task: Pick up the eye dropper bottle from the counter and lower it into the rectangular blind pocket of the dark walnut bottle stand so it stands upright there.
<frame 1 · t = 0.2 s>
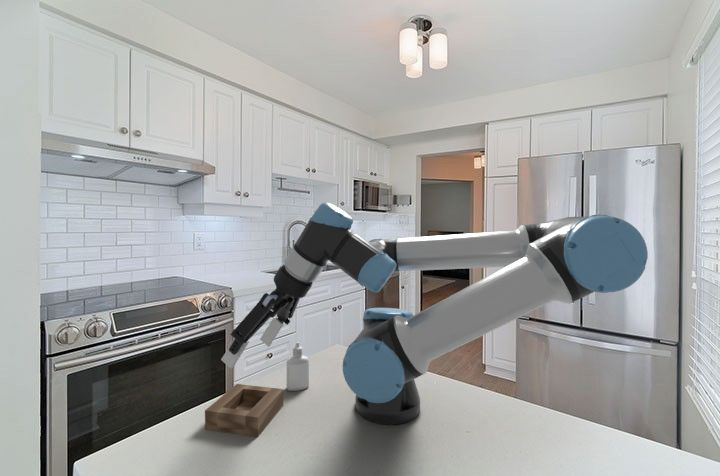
hand: (247, 352, 74), 15 cm above the countertop, tool tilted 35°, fingers open, 13 cm apart
walnut bottle stand: (246, 416, 76), on the countertop
eye dropper bottle: (297, 388, 90), on the countertop
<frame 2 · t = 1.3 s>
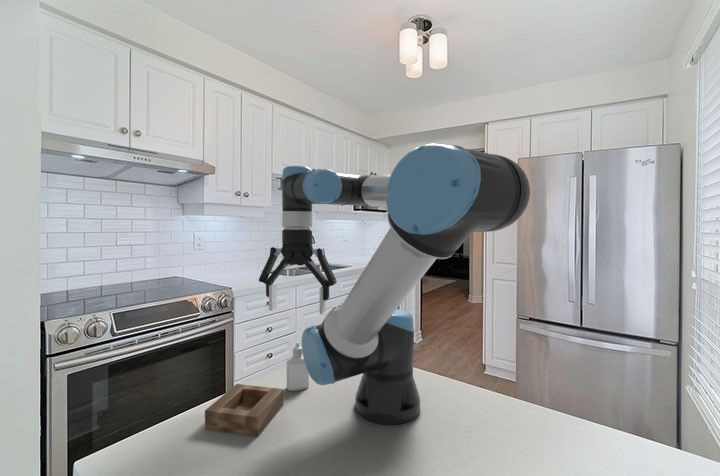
hand: (297, 311, 89), 20 cm above the countertop, tool pointing down, fingers open, 13 cm apart
nothing on the countertop moved.
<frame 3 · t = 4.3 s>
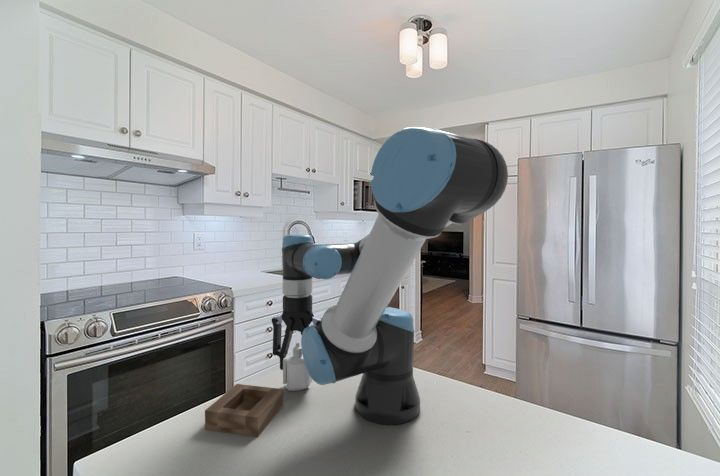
hand: (297, 382, 90), 1 cm above the countertop, tool pointing down, fingers closed on eye dropper bottle, 5 cm apart
eye dropper bottle: (297, 388, 90), on the countertop, touching gripper
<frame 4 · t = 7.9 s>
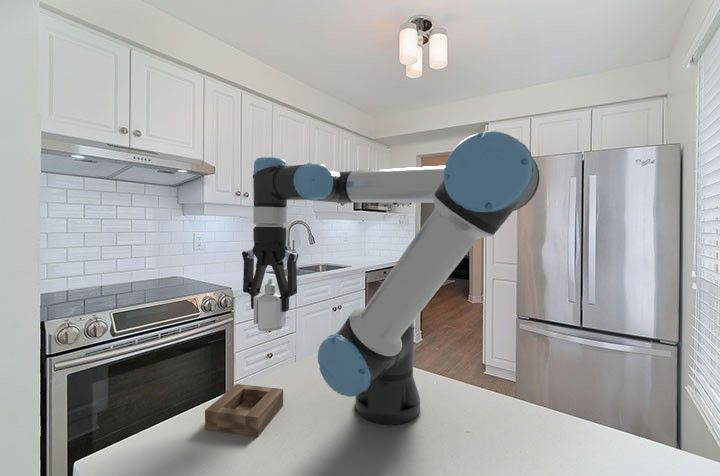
hand: (269, 323, 82), 19 cm above the countertop, tool pointing down, fingers closed on eye dropper bottle, 5 cm apart
eye dropper bottle: (270, 329, 82), point 18 cm above the countertop, touching gripper
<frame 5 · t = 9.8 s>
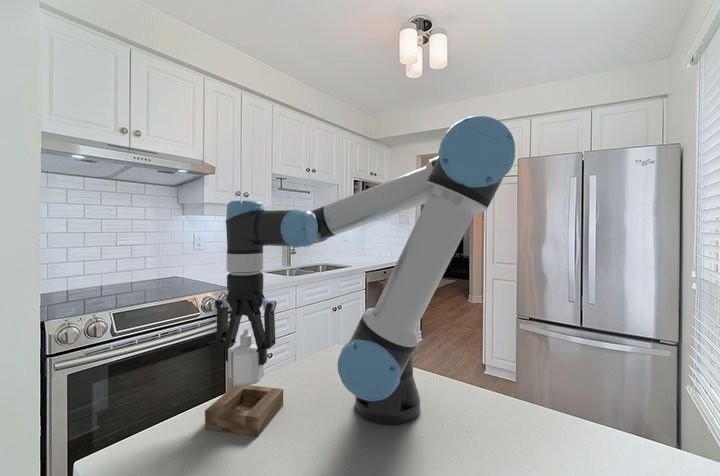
hand: (246, 376, 76), 9 cm above the countertop, tool pointing down, fingers closed on eye dropper bottle, 5 cm apart
eye dropper bottle: (246, 383, 76), point 7 cm above the countertop, touching gripper
when the fingers open (5 cm above the countertop, at t = 11.6 s): eye dropper bottle drops 3 cm, resting on walnut bottle stand.
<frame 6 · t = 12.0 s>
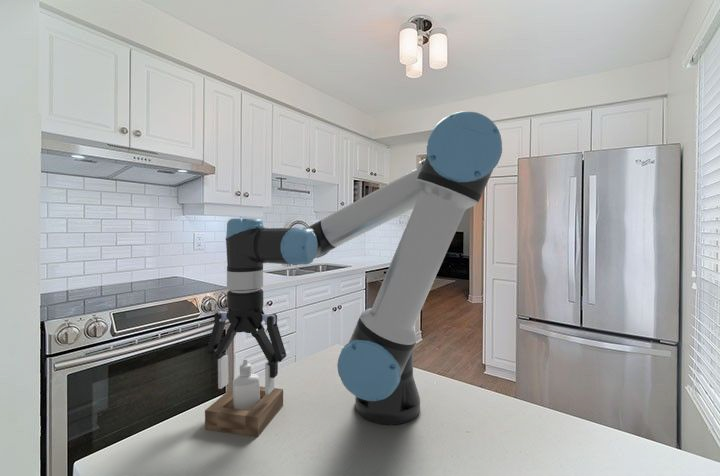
hand: (246, 388, 76), 6 cm above the countertop, tool pointing down, fingers open, 10 cm apart
eye dropper bottle: (247, 412, 76), point 1 cm above the countertop, touching walnut bottle stand
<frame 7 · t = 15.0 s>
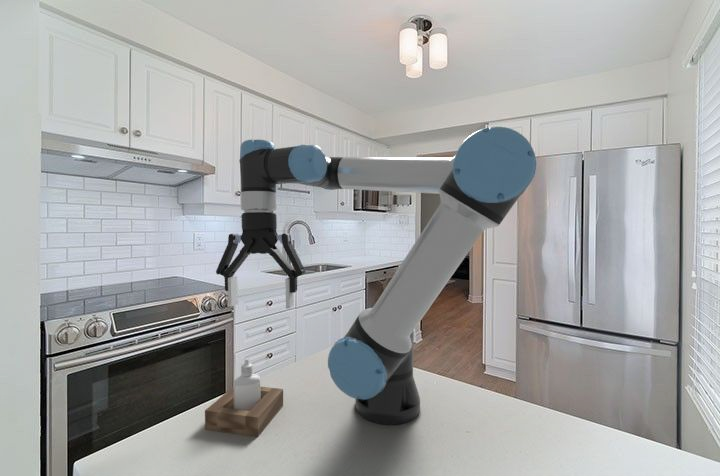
hand: (261, 306, 78), 24 cm above the countertop, tool pointing down, fingers open, 13 cm apart
nothing on the countertop moved.
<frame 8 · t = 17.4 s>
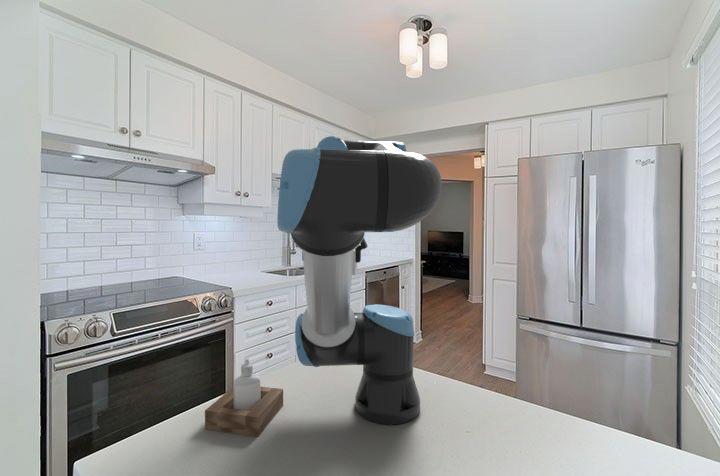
hand: (331, 273, 97), 29 cm above the countertop, tool pointing down, fingers open, 13 cm apart
nothing on the countertop moved.
at the end: eye dropper bottle 0.2 cm off-centre on the walnut bottle stand, point 0.8 cm above the walnut bottle stand's base; eye dropper bottle tilted 0°; the gripper is holding nothing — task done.
